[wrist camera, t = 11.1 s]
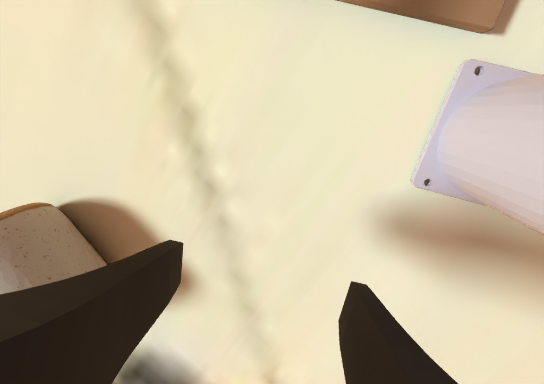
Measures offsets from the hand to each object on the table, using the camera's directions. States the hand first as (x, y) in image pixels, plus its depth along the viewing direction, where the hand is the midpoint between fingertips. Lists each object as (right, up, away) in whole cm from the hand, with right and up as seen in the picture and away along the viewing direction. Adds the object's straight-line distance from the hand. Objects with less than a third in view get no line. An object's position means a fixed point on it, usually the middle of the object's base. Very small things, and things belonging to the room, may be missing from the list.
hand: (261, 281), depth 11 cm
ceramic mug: (-19, -2, +13) cm, 23 cm away
